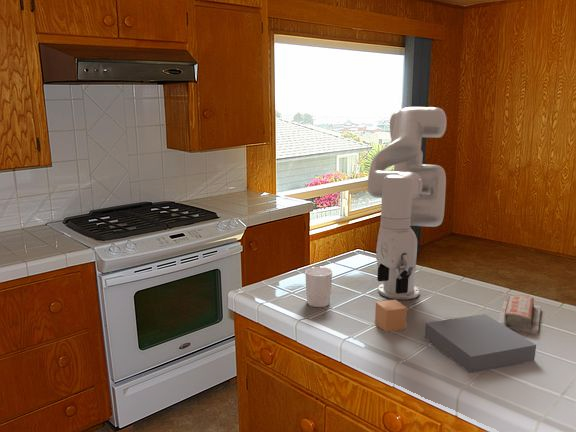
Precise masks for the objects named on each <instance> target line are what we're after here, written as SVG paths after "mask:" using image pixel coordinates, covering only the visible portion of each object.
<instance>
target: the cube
mask: <svg viewBox="0 0 576 432" xmlns="http://www.w3.org/2000/svg"><path fill="white" fill-rule="evenodd" d="M374 311H375V313H374V314H375V316H374V319H375V320H374V323H375V324H376V325H378V327H380V328H381V329H382V330H383V331H385V332H386V333H387V332H391V331H392V332H393V331H399V330H406V328H407V327H406V326H407V317H408V316H407V313H408V308H407V306H405V305H404V304H402V303H401V302H400V301H398V299H389V300H382V301H381V300H379V301H376V302H375V310H374Z"/></svg>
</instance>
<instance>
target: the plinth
mask: <svg viewBox="0 0 576 432" xmlns="http://www.w3.org/2000/svg"><path fill="white" fill-rule="evenodd" d="M424 329H425V330H424V338H425V339H426V340H428V342H430V343H432V345H434V346H435V347H436V348H438V349H439V350H440V351H441V352H442V353H444V354H446V356H448V357H449V358H450V359H451V360H452V361H454V362H455V363H456V364H458V365H459V366H460V367H461V368H463V370H465V371H466V372H468V373H469V374H471V373H476V372H481V371H482V372H483V371H487V370H491V369H497V368H502V367H507V366H513V365H519V364H523V363H529V362H533V361H535V359H536V351H537V344H536V343H534V342H532V341H530V340H529V339H528V338H525V337H524V336H523V335H521V334H519V333H517V332H516V331H515V330H511V329H509V328H507V327H506V326H504V325H502V324H501V323H499V322H498V321H497V320H496V319H494V318H493V317H491V316H490V315H487V314H485V313H482V314H475V315H470V316H464V317H463V316H462V317H455V318H450V319H443V320H436V321H431V322H425V328H424Z"/></svg>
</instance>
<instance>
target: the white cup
mask: <svg viewBox="0 0 576 432" xmlns="http://www.w3.org/2000/svg"><path fill="white" fill-rule="evenodd" d="M332 279H333V270H332V269H330V268H328V267H323V266H313V267H312V266H311V267H308V268H306V269H305V292H306V302H307V304H308V306H309V307H313V308H325V307H328V306H329V305H330V303H331V301H330V300H331V293H332V284H333V283H332V282H333V281H332Z"/></svg>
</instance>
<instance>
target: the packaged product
mask: <svg viewBox="0 0 576 432" xmlns="http://www.w3.org/2000/svg"><path fill="white" fill-rule="evenodd" d="M534 301H535V298H534V297H533V296H530V295H529V294H527V295H526V294H521V295H519V294H518V295H515V294H514V295H510V296H508V297H507V300H506V301H505V300H504V301H503V304H502V308H501V310H500V314H499V318H498V321H497V322H499V323H501V324H502V325H504V326H506V327H507V328H509V329H511V330H512V331H515V332H516V331H517V332H522V333H527V334H532V335H538V332H539V327H540V326H539V325H540V319H541V309H542V308H541V307H542V305H536V304H534Z"/></svg>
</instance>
